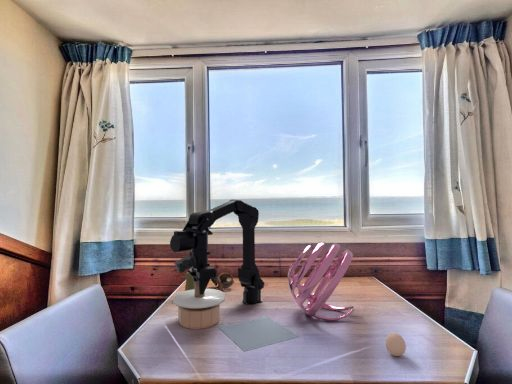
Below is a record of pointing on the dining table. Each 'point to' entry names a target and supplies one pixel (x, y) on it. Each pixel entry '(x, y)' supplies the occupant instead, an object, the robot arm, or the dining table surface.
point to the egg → (395, 344)
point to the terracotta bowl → (198, 317)
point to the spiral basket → (306, 289)
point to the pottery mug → (223, 281)
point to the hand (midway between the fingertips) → (199, 293)
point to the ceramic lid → (199, 298)
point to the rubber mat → (257, 333)
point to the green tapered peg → (189, 282)
